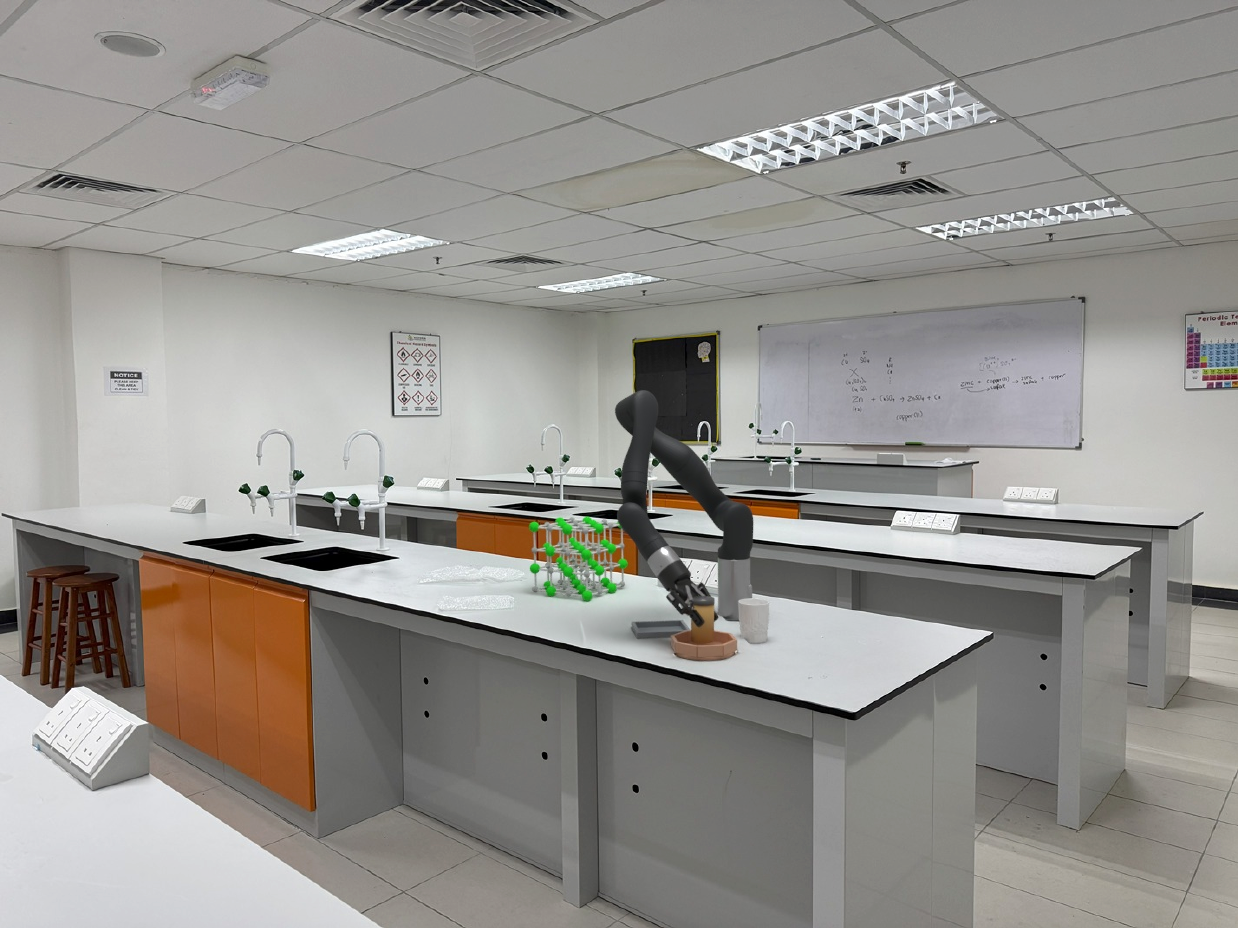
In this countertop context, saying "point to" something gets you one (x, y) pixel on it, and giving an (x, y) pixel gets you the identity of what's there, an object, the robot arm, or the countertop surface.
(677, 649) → the terracotta bowl
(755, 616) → the white cup
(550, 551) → the molecular structure model
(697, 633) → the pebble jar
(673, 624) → the parts tray
